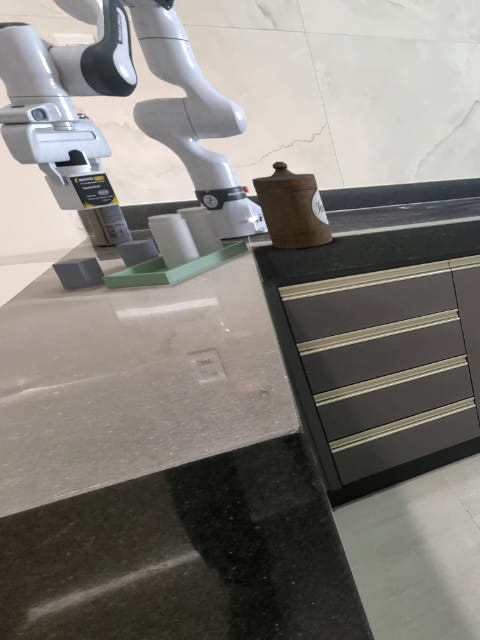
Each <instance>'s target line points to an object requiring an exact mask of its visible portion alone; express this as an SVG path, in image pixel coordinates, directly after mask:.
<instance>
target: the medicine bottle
mask: <svg viewBox="0 0 480 640" xmlns="http://www.w3.org/2000/svg"><path fill="white" fill-rule="evenodd" d="M68 155H69V157H70V160H69V161H61V162H54V163H55V165H56V167H57V168H55V169H56V171H57V172H58V173H59V174H60V175H61V176H65V177H66V179H67V181H68V185H65V186H55V185H54V184H53V182H52V180H51V178H50V177H48V176H47V175H46V174H45V175H44V177H43V178H44V179H45V181H46V183H47V186H48V188H49V189H50V191H51V194H52V196H53V197H54V199H55V201H56V203H57V205H58V207H59V209H60V210H62V211H83V210H88V209H94V208H100V207H106V206H112V205H117V204H120V201H119V199H118V197H117V195H116V193H115V190H114V189H113V186H112V184H111V182H110V180H109V178H108V175H107V174H106V172H105V171H103V170H102V171H91V170H90V168H91V166H90V163H89V161H88V159H87V157H86V155H85V153H84V152H83V151H82V150H76V149H75V150H71V151H69V152H68Z"/></svg>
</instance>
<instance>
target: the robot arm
mask: <svg viewBox="0 0 480 640" xmlns="http://www.w3.org/2000/svg"><path fill="white" fill-rule="evenodd" d="M52 2H53V3H54V4H55V5H56V6H57V7H58V8H59V9H60V10H61V11H63V12H64V13H66V14H67V15H69V16H70V17H72V18H74V19H76V20H77V21H79V22H82V23H84V24H87V25H91V26H96V37H97V38H96V40H95V41H94V42H91V43H88V44H81V45H79V44H78V45H55V44H53V43H51V42H49V41H47V40H45V39H44V38H42V37H40V35H39V33H38V32H37V30H36V29H35V27H33V25H32V24H29V23H26V22H22V21H6V22H0V80H1V81H2V83H3V84H4V86H5V90H6V95H7V98H8V100H9V102H10V103H9V104H7V105H5V106H3V107H1V108H0V125H1V126H0V135H1V137H2V140H3V142H4V143H5V146H6V147H7V149H8V151H9V153H10V155H11V156H12V158H13V159H14V160H15V161H17V162H18V163H19V164H20V165H37V166H38V169H39V170H40V171H41V172H42V173H44V174H45V176H46V175H47V176H48V177H50V178H51V180H52V182H53V184H54V185H55V186H65V185H68V181H67V179H66V177H65V176H61V175H60V174H59V173H58V172H57V171H56V169H55V168H57V167H56V165H55V163H54V162H61V161H69V160H70V157H69V155H68V152H69V151H71V150H75V149H76V150H82V151H83V152H84V153H85V155H86V157H87V159H88V161H89V163H90V166H91V168H90V170H91V171H103V170H102V168H103V163H102V160H101V158H111V157H112V154H113V153H112V149H111V147H110V145H109V143H108V141H107V139H106V137H105V136H104V134H103V132H102V131H101V129H100V128H99V126H98V125H97V124H96V123H95V122H94V120H93V119H92V118H91V117H89V116H88V115H86V114H85V113H81V112H78V113H77V110H76V108H75V106H74V104H73V101H72V100H71V98H72V97H73V98H74V97H82V98H83V97H113V98H114V97H116V98H127V97H129V96H132V94H133V93H134V92H135V90H136V88H137V86H138V75H137V71H136V68H135V65H134V60H133V48H132V35H131V24H130V23H131V22H132V26H133V30H134V32H135V35H136V38H137V41H138V44H139V47H140V50H141V52H142V54H143V57H144V59H145V62H146V65H147V68H148V70H149V72H150V73H151V74H152V75H153V76H155V78H157V79H159V80H161V81H163V82H166V83H168V84H171V85H173V86H176V87H179V88H181V89H182V90H183V91H184V92H185V94H186V96H185V97H160V98H158V97H157V98H152V99H151V98H150V99H145V100H142V101H137V102H136V103H135V105H134V107H133V111H132V117H133V120H134V123H135V125H136V127H138V129H139V130H140V131H141V132H142V133H143V134H144V135H145V136H147V137H148V138H150V139H151V140H152V139H153V140H154V141H156V142H158V143H160V144H162V145H164V146H165V147H166V148H167V149H169V150H171V152H172V153H174V154H175V155H176V156H177V157H178V159H179V160H180V161H181V162H182V164H183V165H184V167H185V169H186V171H187V173H188V176H189V177H190V180H191V182H192V185H193V187H194V189H195V190H194V194H195V198H196V199H197V202H198V203H199V204H200V207H206V208H207V211H209V212H210V213H211V216H212V218H213V221H214V224H215V226H216V229H217V231H218V234H219V237H220V239H221V240H222V239H223V240H224V239H233V238H241V237H246V236H252V235H258V234H260V235H261V234H265V233H269V232H268V229H267V226H266V223H265V220H264V217H263V213H262V210H261V207H260V205H258V204H257V203H256V202H253V201H252V200H251V199H249V198H248V195H247V193H248V194H249V193H250V188H249V186H247V185H244V186H241V185H240V182H239V180H238V177H237V175H236V170H235V168H234V165H233V163H232V162H231V160H230V159H229V158H228V157H227V156H225V155H223V154H221V153H218V152H215V151H213V150H208V149H206V148H205V147H203V146H202V145H201V144H200V142H199V141H200V140H209V139H224V138H226V139H227V138H231V137H236V136H239V135H243V134H244V132H245V130H246V128H247V123H248V122H247V117H246V114H245V111H244V110H243V109H242V107H241V106H240V105H239V104H238V103H237V102H235V101H234V100H232V99H231V98H229V97H227V96H226V95H224V94H223V93H221V92H220V91H218V90H217V89H216V88H215V86H213V85H212V84H211V83H210V82H209V81H208V80H207V78H206V77H205V76H204V74H203V72H202V70H201V68H200V66H199V64H198V62H197V59H196V57H195V54H194V51H193V49H192V46H191V43H190V41H189V37H188V35H187V33H186V30H185V28H184V25H183V23H182V22H181V19H180V18H179V15H178V13H177V12H176V10H175V8H174V2H175V0H52ZM125 7H128V9H129V13H130V18H131V22H130V19H129V15H128V12H127V10H126V8H125Z"/></svg>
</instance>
